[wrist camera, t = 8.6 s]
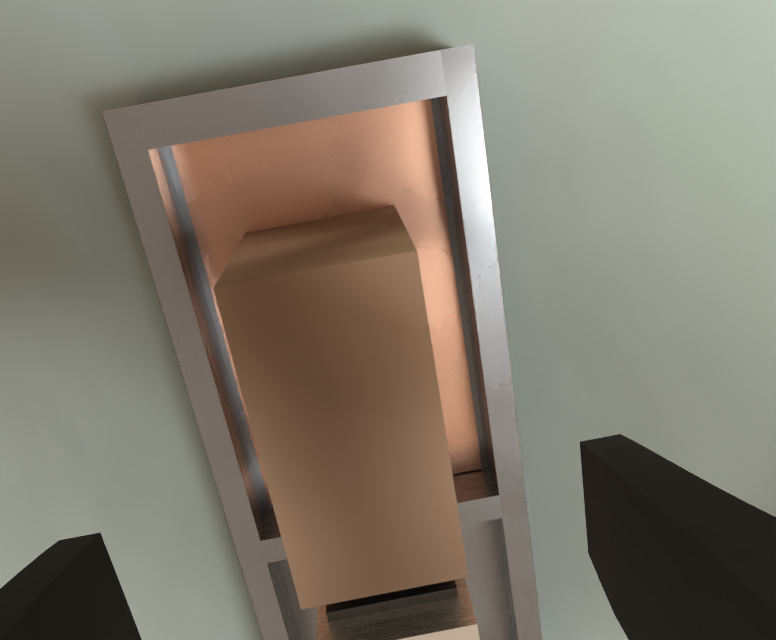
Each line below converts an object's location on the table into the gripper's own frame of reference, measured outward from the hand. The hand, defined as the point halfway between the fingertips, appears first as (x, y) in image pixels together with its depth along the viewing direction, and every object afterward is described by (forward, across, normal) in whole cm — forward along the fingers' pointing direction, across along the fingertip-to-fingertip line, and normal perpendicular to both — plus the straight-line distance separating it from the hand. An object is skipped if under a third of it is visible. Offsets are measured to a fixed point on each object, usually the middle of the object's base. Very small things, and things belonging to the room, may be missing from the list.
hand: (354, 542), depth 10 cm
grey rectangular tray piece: (+10, 0, +4) cm, 11 cm away
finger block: (+9, 0, +1) cm, 9 cm away
